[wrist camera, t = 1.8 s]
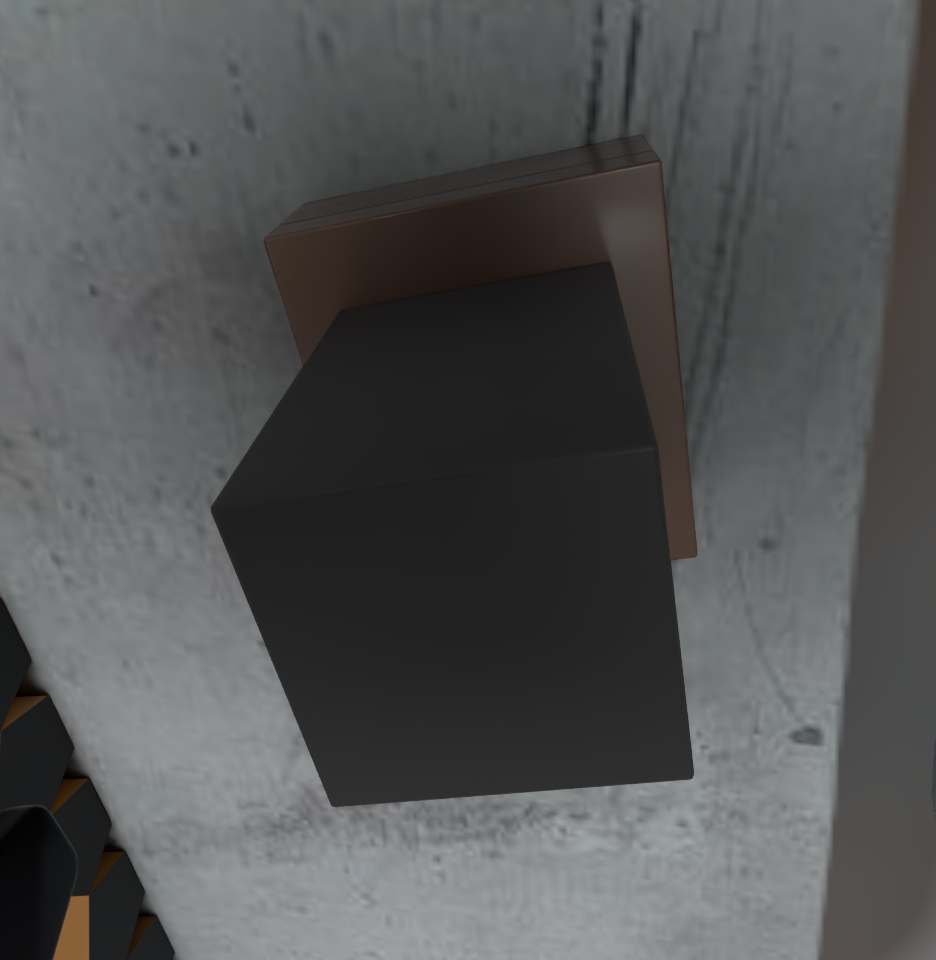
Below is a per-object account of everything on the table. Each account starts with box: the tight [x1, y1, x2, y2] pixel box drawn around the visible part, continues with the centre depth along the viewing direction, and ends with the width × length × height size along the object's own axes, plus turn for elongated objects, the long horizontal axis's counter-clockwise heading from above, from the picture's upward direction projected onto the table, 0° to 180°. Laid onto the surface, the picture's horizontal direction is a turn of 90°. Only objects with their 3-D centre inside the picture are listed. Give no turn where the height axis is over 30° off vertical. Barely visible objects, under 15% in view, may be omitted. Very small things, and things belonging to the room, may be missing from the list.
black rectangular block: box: [211, 262, 694, 807], centre depth 13 cm, size 5×5×7 cm
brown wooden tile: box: [264, 135, 697, 560], centre depth 18 cm, size 7×8×3 cm
